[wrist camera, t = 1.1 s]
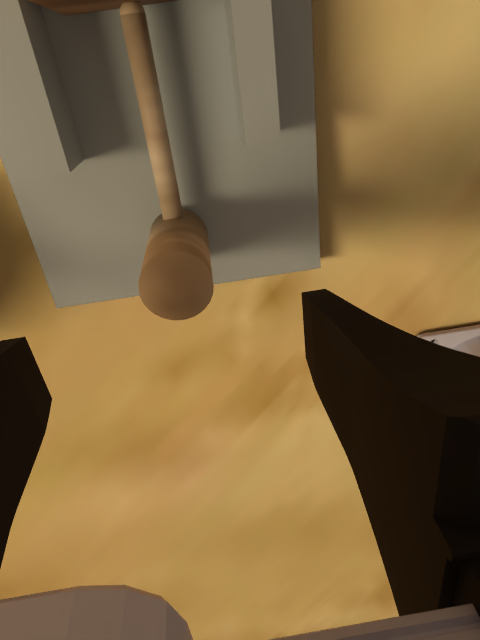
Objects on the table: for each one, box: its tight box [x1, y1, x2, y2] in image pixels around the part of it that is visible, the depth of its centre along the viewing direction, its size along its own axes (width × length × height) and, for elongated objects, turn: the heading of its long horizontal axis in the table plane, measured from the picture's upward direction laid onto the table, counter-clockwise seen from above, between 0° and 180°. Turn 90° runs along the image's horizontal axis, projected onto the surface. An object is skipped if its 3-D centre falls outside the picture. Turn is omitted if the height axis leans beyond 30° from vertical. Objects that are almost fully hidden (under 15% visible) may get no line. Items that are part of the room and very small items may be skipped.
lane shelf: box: [0, 0, 321, 308], centre depth 15 cm, size 12×18×4 cm, turn 7°
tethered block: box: [28, 0, 213, 320], centre depth 14 cm, size 4×14×5 cm, turn 7°
